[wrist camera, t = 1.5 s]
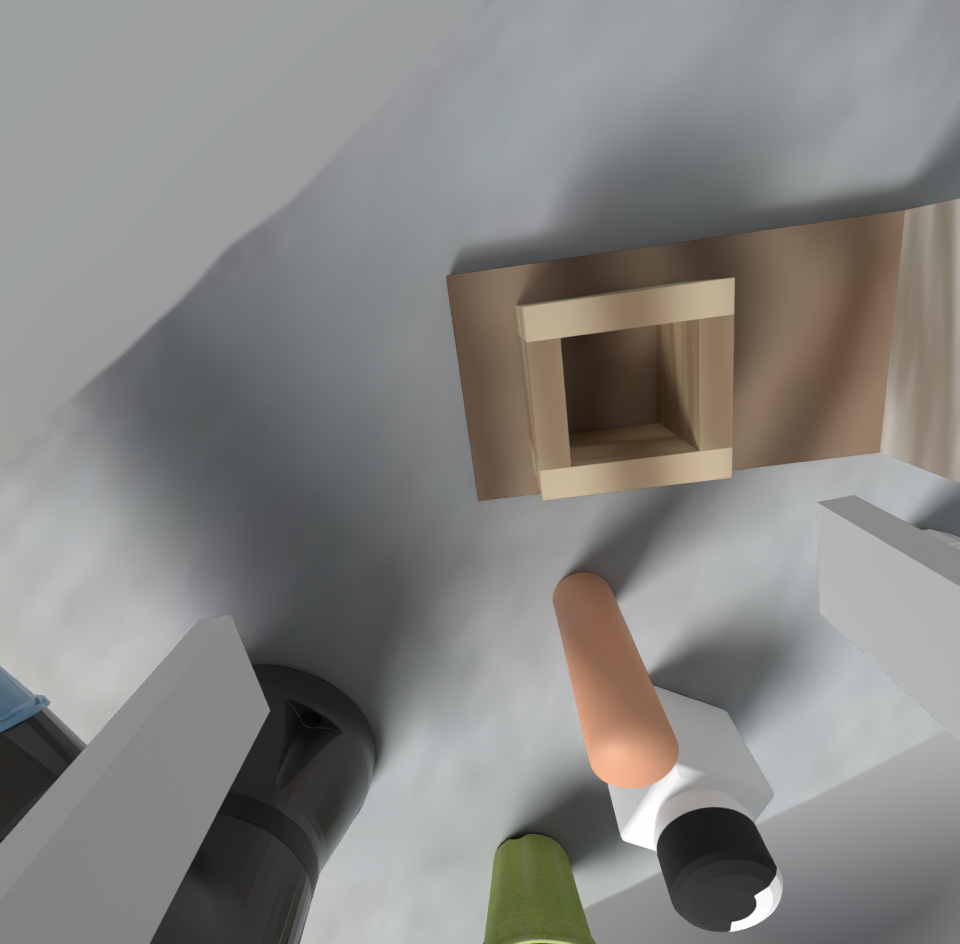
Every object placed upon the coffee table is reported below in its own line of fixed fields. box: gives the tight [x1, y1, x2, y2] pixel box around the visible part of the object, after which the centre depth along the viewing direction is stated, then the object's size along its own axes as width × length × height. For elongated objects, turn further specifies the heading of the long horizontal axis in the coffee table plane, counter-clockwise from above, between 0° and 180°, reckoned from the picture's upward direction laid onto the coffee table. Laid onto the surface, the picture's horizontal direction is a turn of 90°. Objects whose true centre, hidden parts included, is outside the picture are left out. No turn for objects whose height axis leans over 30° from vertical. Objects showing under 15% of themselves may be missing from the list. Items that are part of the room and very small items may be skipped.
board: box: [446, 198, 960, 501], centre depth 26 cm, size 26×13×10 cm, turn 98°
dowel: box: [553, 572, 679, 788], centre depth 30 cm, size 4×4×13 cm
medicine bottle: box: [607, 685, 783, 932], centre depth 34 cm, size 7×7×12 cm
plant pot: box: [483, 834, 596, 944], centre depth 39 cm, size 9×9×9 cm
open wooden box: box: [515, 278, 735, 500], centre depth 27 cm, size 9×9×6 cm
